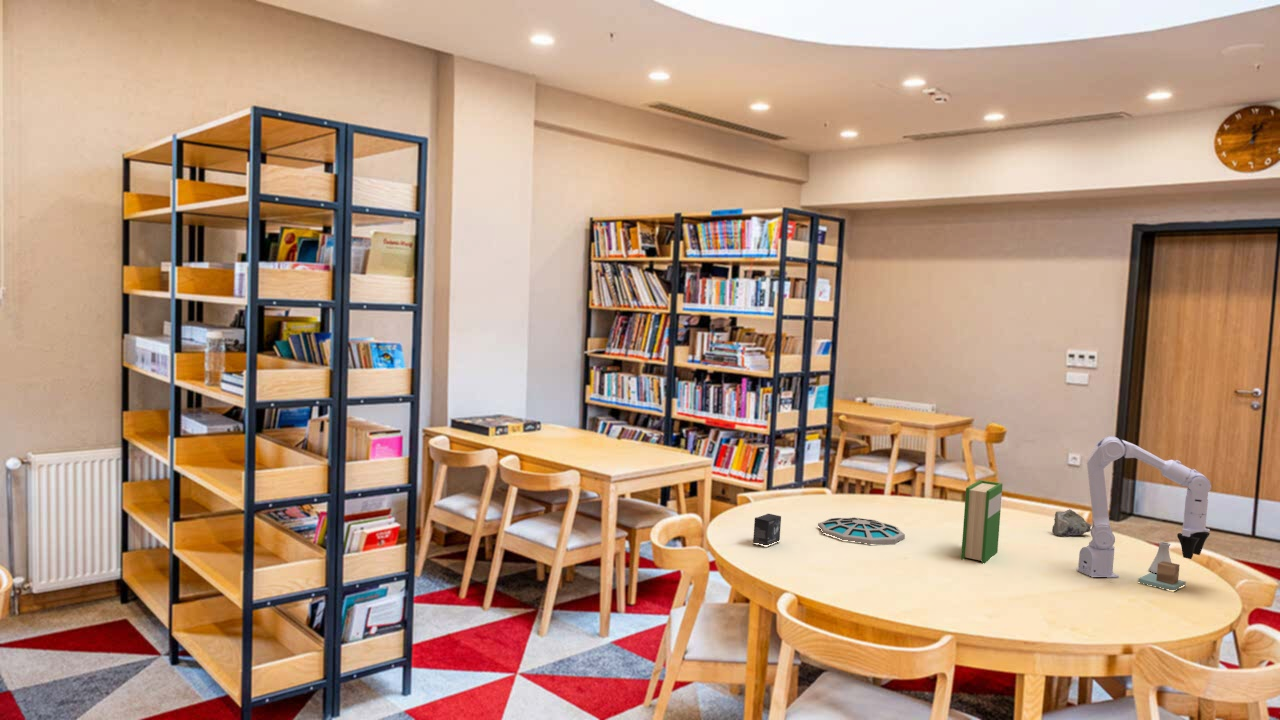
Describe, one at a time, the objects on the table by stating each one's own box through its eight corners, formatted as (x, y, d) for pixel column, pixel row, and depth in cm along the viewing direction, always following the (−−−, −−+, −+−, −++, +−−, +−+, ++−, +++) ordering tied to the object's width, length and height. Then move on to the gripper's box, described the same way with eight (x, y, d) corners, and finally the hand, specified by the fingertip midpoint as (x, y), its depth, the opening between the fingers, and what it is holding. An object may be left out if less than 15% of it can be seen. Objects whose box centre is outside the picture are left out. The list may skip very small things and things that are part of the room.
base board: (1173, 592, 258) (1174, 587, 258) (1137, 583, 265) (1138, 578, 265) (1185, 586, 264) (1185, 581, 264) (1149, 577, 272) (1150, 572, 272)
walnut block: (1172, 584, 260) (1174, 567, 260) (1156, 580, 264) (1157, 563, 264) (1178, 582, 263) (1179, 564, 263) (1161, 578, 267) (1163, 560, 266)
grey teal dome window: (913, 548, 295) (914, 534, 294) (828, 544, 295) (829, 530, 295) (889, 525, 325) (890, 512, 325) (812, 521, 326) (813, 509, 326)
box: (767, 548, 286) (768, 520, 285) (752, 545, 289) (753, 517, 288) (780, 543, 293) (781, 515, 292) (765, 539, 296) (767, 512, 296)
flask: (1162, 577, 273) (1165, 546, 272) (1143, 570, 280) (1146, 540, 279) (1180, 576, 275) (1182, 545, 274) (1161, 569, 282) (1163, 539, 281)
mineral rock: (1090, 535, 323) (1092, 509, 322) (1090, 542, 313) (1092, 515, 313) (1052, 530, 329) (1054, 504, 328) (1051, 536, 320) (1053, 509, 319)
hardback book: (984, 563, 279) (989, 491, 278) (961, 559, 283) (966, 487, 282) (997, 552, 293) (1002, 483, 292) (975, 548, 298) (979, 480, 296)
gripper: (1202, 518, 254) (1198, 563, 255) (1218, 512, 263) (1214, 555, 264) (1176, 513, 259) (1172, 557, 260) (1192, 507, 269) (1188, 549, 270)
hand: (1191, 556), depth 263 cm, fingers open, 7 cm apart
